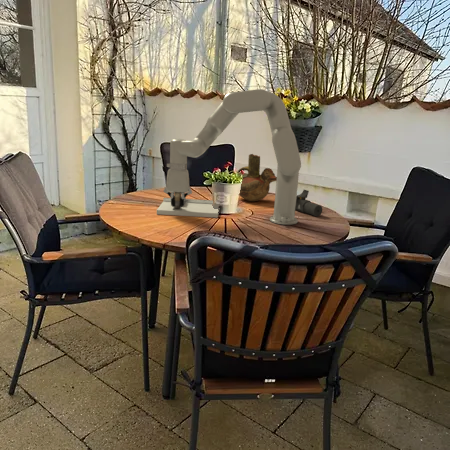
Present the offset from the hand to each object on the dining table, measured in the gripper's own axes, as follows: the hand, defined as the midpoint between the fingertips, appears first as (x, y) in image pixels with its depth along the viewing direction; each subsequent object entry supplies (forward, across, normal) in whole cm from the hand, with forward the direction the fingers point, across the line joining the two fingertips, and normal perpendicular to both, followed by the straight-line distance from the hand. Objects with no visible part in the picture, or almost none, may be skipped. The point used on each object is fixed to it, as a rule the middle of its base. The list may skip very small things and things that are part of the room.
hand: (177, 206), depth 195 cm
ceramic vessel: (+4, +37, +36) cm, 52 cm away
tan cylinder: (+1, 0, 0) cm, 1 cm away
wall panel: (+3, +5, +8) cm, 10 cm away
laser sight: (+4, +61, +18) cm, 63 cm away
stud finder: (+1, -1, +10) cm, 10 cm away
